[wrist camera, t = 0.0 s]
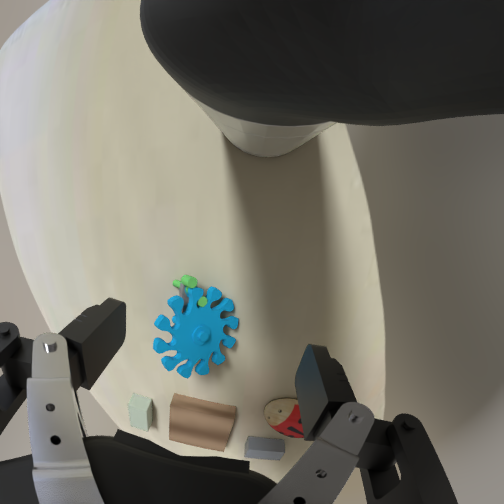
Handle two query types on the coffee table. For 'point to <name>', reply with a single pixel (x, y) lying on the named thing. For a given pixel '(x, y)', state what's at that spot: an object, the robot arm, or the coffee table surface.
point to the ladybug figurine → (285, 417)
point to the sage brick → (140, 412)
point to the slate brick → (264, 448)
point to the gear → (195, 328)
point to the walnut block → (200, 422)
